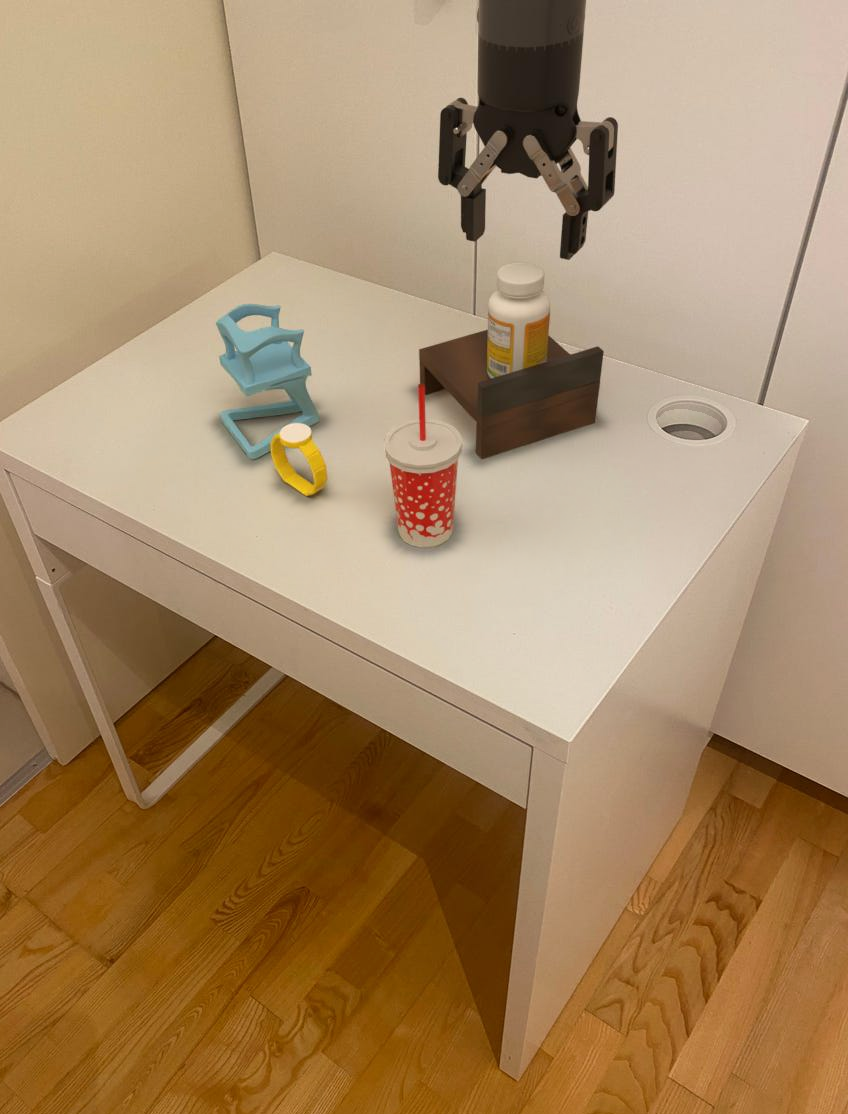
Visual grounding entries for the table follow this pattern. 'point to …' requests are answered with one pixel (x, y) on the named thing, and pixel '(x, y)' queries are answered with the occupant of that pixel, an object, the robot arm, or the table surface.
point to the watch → (302, 439)
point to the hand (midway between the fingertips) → (520, 246)
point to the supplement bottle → (517, 320)
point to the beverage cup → (424, 477)
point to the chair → (264, 371)
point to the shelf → (515, 391)
